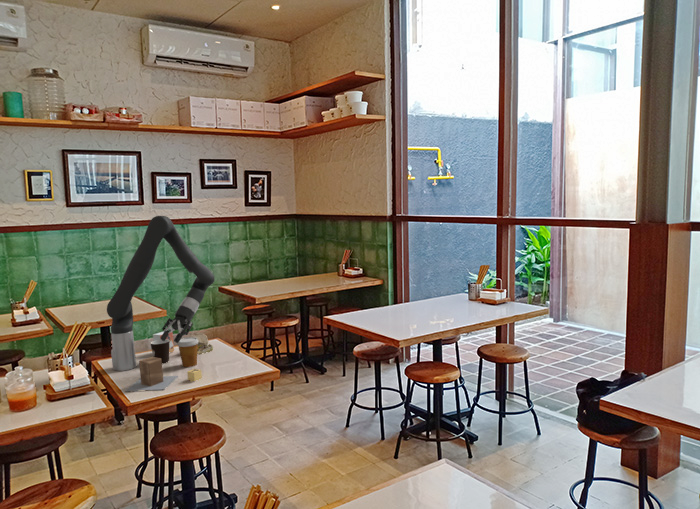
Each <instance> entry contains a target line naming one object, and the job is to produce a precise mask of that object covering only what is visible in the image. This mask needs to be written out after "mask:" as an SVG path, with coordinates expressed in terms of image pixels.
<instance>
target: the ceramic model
mask: <svg viewBox="0 0 700 509" xmlns="http://www.w3.org/2000/svg"><path fill="white" fill-rule="evenodd" d="M189 337H195V338H197V339H198V341H199V342H198V350H197V354H199V355H203V354H202V353H204V354H207V353H206V352H208V353H211V352H213V351H212V350H214V345H212V344H211V343H209V340H208V336H207V335H206V334H204V333H198V332H195V333H194V334H191V335H189ZM210 351H211V352H210Z"/></svg>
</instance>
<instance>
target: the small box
mask: <svg viewBox="0 0 700 509" xmlns="http://www.w3.org/2000/svg"><path fill="white" fill-rule="evenodd" d="M173 332H174V331H172V332H170V333H169V335H168V336H167V338H166V339H168V340H170V343H169V352H171V353H174V352H175V345H174V333H173ZM163 333H164V331H161V332H156V333H154V334H152V340H153V341H155V340H160V339H161V336H162V335H163ZM173 351H174V352H173Z"/></svg>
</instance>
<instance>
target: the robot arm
mask: <svg viewBox="0 0 700 509" xmlns="http://www.w3.org/2000/svg"><path fill="white" fill-rule="evenodd" d="M163 239H164V240H165V241H166V242H167V243H168V245H169V246H170V247H171V249H172V251H173V252H174V254H175V256H176V257H177V259H178V260H179V261H180V264H182V266H183V267H184V268H185V269H186V271H187V272H189V273H191V274H194V275H195V276H196V277H195V279H194V281H193V283H192V285H191V288H190V290H189V291H188V292H187V294H186V296H185V298H184V299H183V300H182V301H181V303H180V305H179V306H178V308H177V310H176V311H175V313H174V318H173V319H172V318H171V317H169V318H167V320H166V322H165V323H164V325H163V326H162V328H161V330H162V331H163V332H164V333H163V335H162V336H161V340H162V341H165V340H166V338H167V336H168V335H169V333H170V332H174V331H178V333H177V334H176V335H175V337H174V338H173V343H174V342H175V344H177V343H178V342H179V341H180V339H183V338H182V337H184V336H185V335H186V336H187V335H188V334H189V333H190V331H191V329H192V327H193V325H194V323H193V322H192V319H193V318H194V316H195V314H196V313H197V311H198V310H199V306H200V304H201V303H202V301H203V299H204V297H205V293H206V291H207V289H208V288H209V287H210V286H212V285H213V284H214V282H215V279H216V278H215V274H214V273H213V272H212V271H211V270H210V269H209V267H207V266H206V265H205V264H204V263H202V262H201V261H200V259H199V258H198V257H197V255H195V253H194V252H193V250H191V248H190V247H189V246H188V244H186V242H185V241H184V240H183V238H182V236H181V235H180V233H179V232H178V230H177V228H176V226H175V224H174V223H173V221H172V219H171V218H170V217H168V216H167V215H156V216H154V217H152V218H151V219H150V220H149V222H148V225H147V228H146V231H145V233H144V235H143V238H142V241H141V242H140V244H139V246H137V249H136V250H135V252H134V254H133V256H132V258H131V260H130V262H129V264H128V265H127V267H126V270H125V272H124V275H123V277H122V279H121V282H120V284H119V286H118V288H117V289H116V291H115V293H114V294H113V296H112V298H111V299H110V300H109V302H108V303H107V305H106V313H107V315H108V317H109V318H111V320H112V321H111V326H110V334H111V344H112V349H111V351H110V354H111V363H112V364H111V365H112V370H113V371H117V372H123V371H130V370H132V369H135V368H136V367H137V359H136V358H137V357H136V349H135V341H134V340H135V339H134V329H133V327H134V326H133V325H134V313H133V312H134V311H133V304H132V299H133V298H134V296H135V293H136V292H137V291H138V289H139V288H140V287H141V285H142V284H144V281H145V280H146V278H147V277H148V275H149V273H150V271H151V270H152V268H153V265H154V261H155V258H156V254H157V251H158V247H159V245H160V243H161V242H162V241H163Z"/></svg>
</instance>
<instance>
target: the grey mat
mask: <svg viewBox="0 0 700 509" xmlns="http://www.w3.org/2000/svg"><path fill="white" fill-rule="evenodd" d="M178 377H179V376H178V375H168V376H167V375H163V381H164V382H161V383H159V384H156V385H154V386H147V385H142V384H141V377H140V378H138V380H136V381H135V382H134V383H132V384H131V385H130V386H129V387H127V388H126V389H125V390H124V392H125V391H132V392H139V391H138V390H154V391H165V390H166V389H167V388H168V387H170V385H171V384H172V383H173V382H174V381H176V379H177V378H178ZM166 387H167V388H166ZM165 388H166V389H165ZM162 389H163V390H162ZM164 389H165V390H164Z"/></svg>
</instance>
